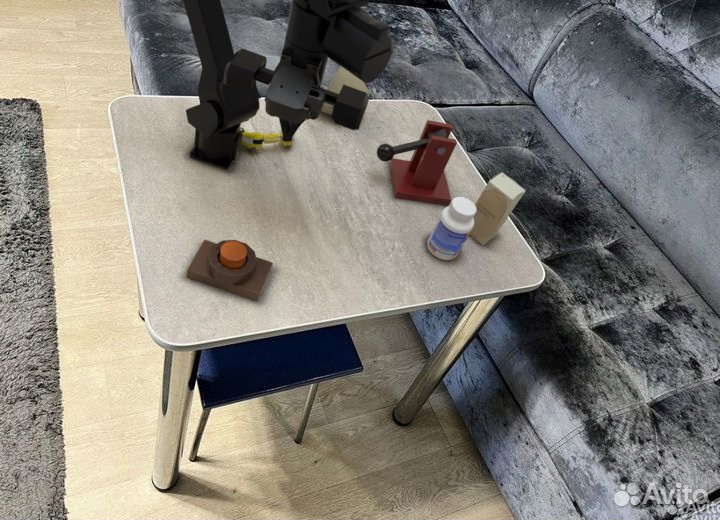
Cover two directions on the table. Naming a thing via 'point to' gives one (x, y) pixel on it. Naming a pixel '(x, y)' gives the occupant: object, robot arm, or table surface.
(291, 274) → the table surface
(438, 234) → the pill bottle
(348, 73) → the bowl
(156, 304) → the table surface
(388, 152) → the black lever handle
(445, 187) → the lever bracket
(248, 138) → the yellow striped curved toy
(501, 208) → the box
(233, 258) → the button
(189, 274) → the button block
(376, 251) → the table surface
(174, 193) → the table surface
